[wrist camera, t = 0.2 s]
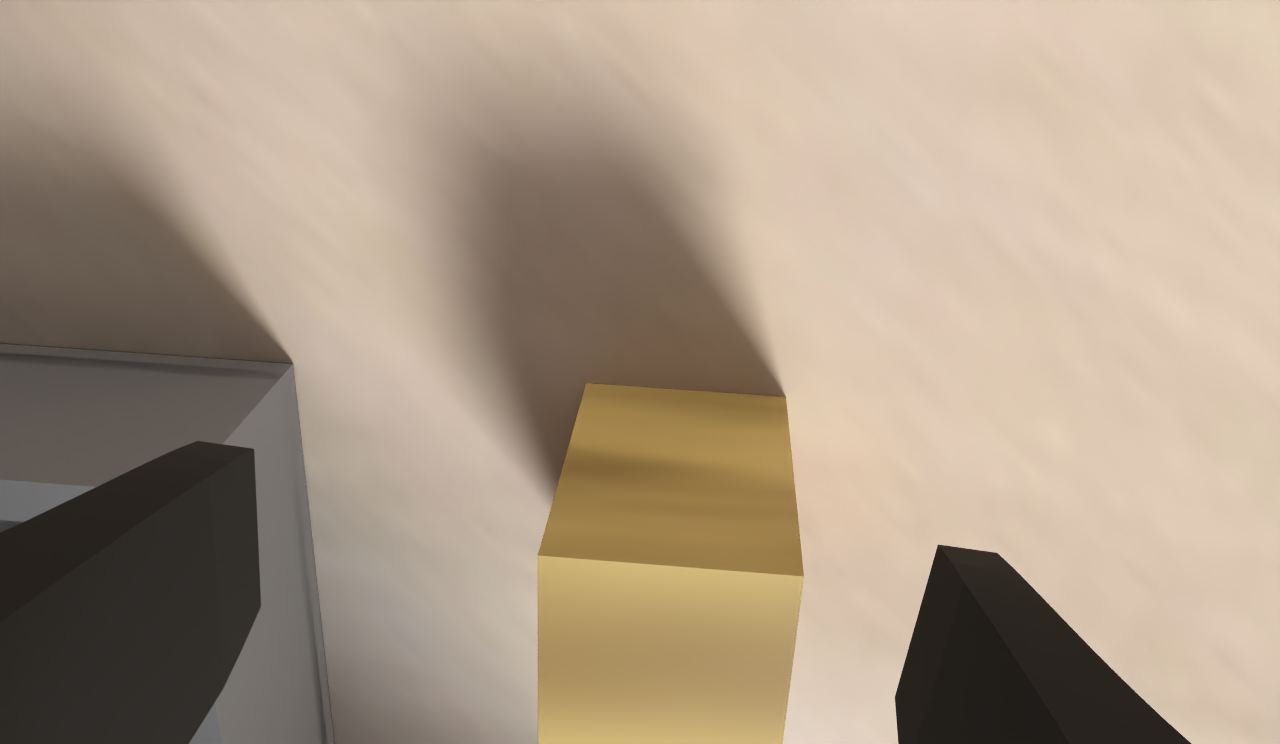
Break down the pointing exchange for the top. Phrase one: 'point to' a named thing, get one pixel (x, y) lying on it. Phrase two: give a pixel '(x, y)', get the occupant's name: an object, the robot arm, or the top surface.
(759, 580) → the block
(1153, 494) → the top surface
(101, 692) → the robot arm
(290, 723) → the box
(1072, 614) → the top surface
